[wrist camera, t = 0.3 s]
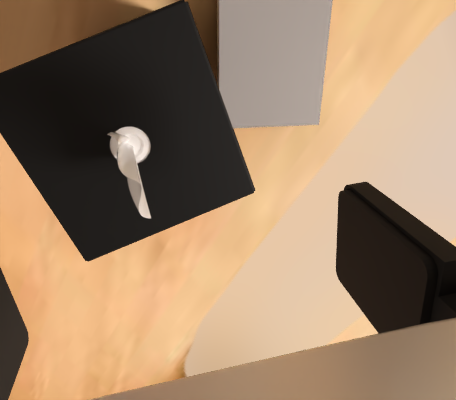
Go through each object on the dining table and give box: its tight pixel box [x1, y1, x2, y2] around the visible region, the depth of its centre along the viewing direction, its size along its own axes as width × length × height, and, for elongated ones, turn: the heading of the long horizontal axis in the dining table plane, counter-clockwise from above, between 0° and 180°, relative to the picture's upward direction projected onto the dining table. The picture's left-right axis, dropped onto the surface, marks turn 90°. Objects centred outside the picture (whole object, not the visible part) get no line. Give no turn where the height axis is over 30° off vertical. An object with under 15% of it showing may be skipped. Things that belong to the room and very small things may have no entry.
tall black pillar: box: [0, 0, 255, 261], centre depth 24 cm, size 8×8×28 cm
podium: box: [217, 0, 333, 128], centre depth 37 cm, size 12×10×4 cm
